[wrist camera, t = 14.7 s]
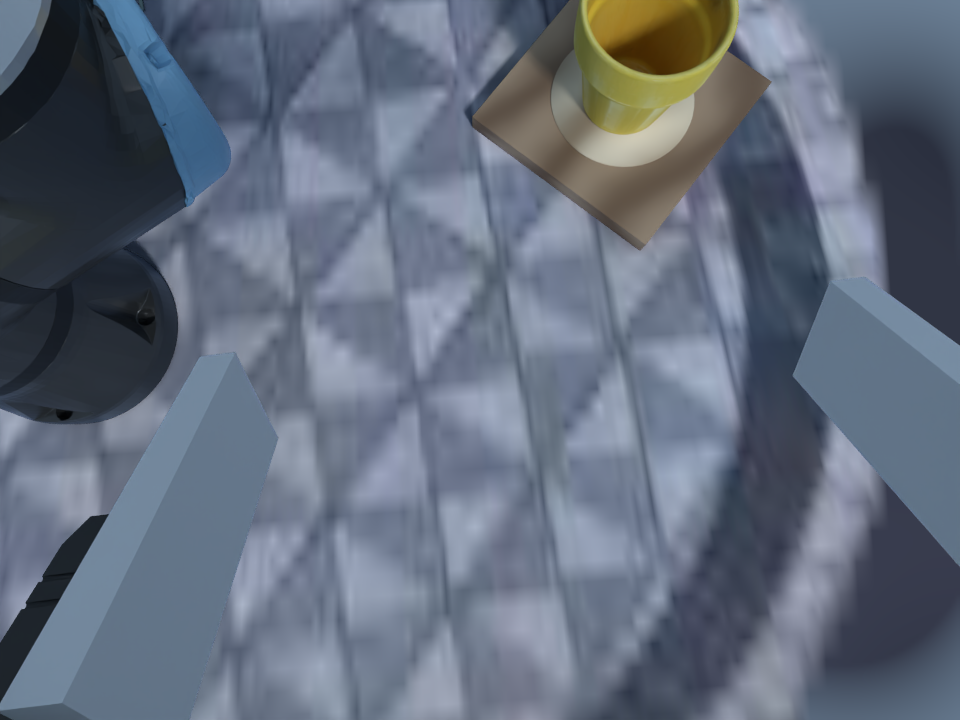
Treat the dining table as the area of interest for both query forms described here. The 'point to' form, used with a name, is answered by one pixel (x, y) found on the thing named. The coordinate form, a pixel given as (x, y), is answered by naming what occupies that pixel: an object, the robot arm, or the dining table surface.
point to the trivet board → (606, 156)
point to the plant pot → (647, 55)
